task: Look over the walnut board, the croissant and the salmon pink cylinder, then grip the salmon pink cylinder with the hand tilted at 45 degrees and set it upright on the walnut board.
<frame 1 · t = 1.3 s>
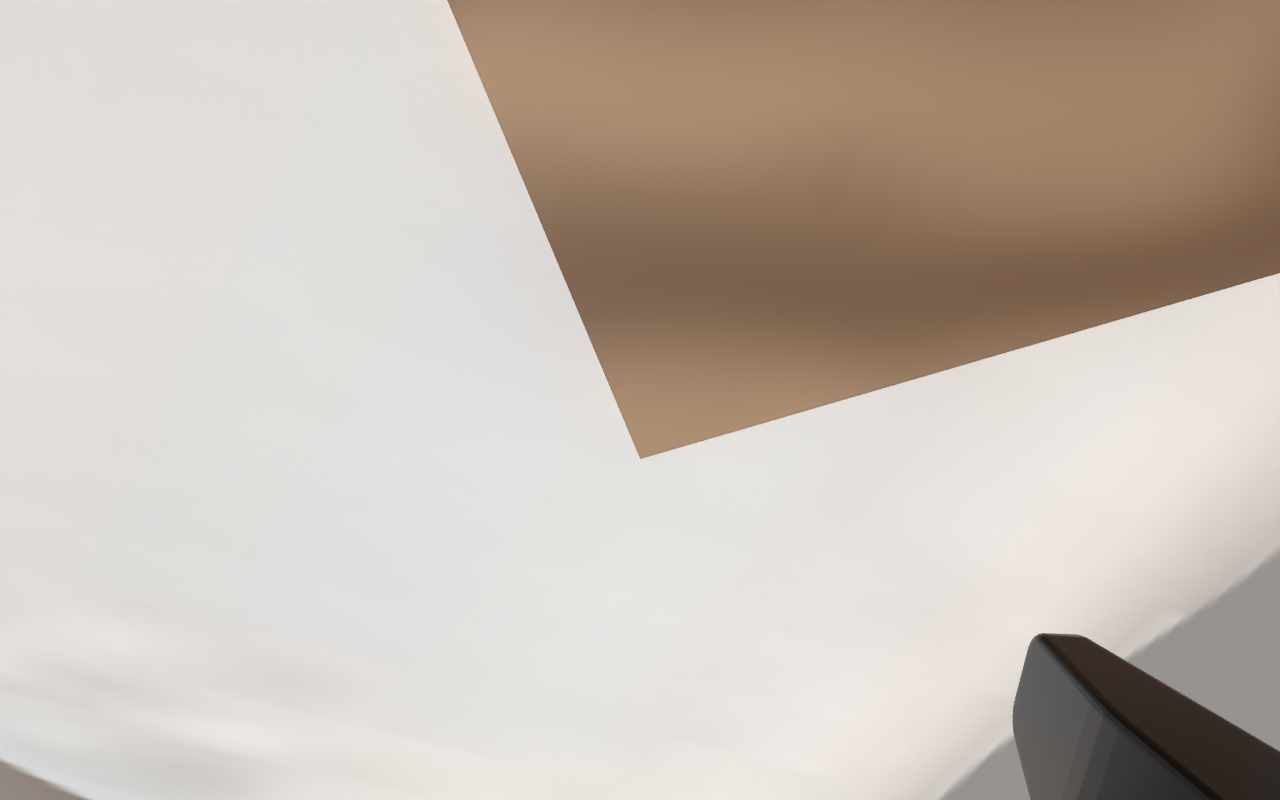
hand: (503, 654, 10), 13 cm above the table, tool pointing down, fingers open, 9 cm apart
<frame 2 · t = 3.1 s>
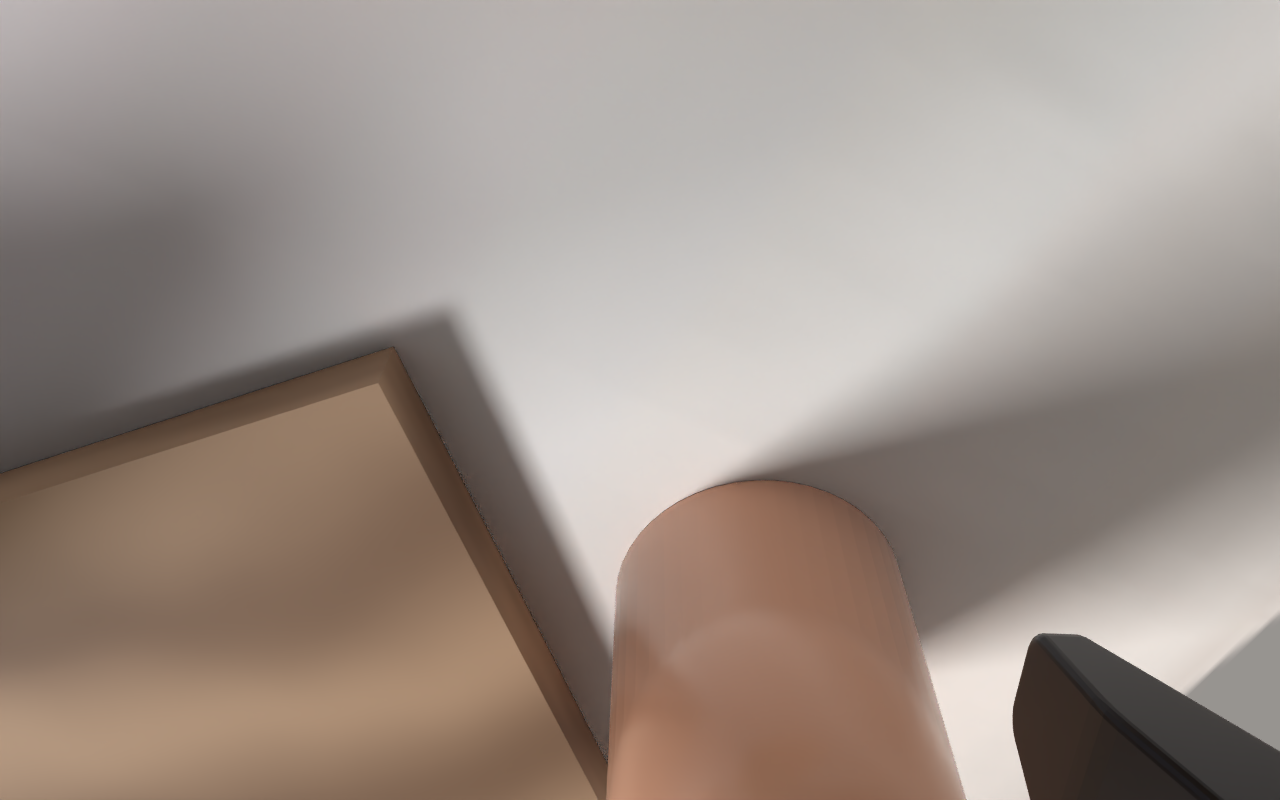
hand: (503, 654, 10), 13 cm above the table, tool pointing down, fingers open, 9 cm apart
walnut board: (302, 753, 29), on the table
salmon pink cylinder: (757, 598, 26), on the table
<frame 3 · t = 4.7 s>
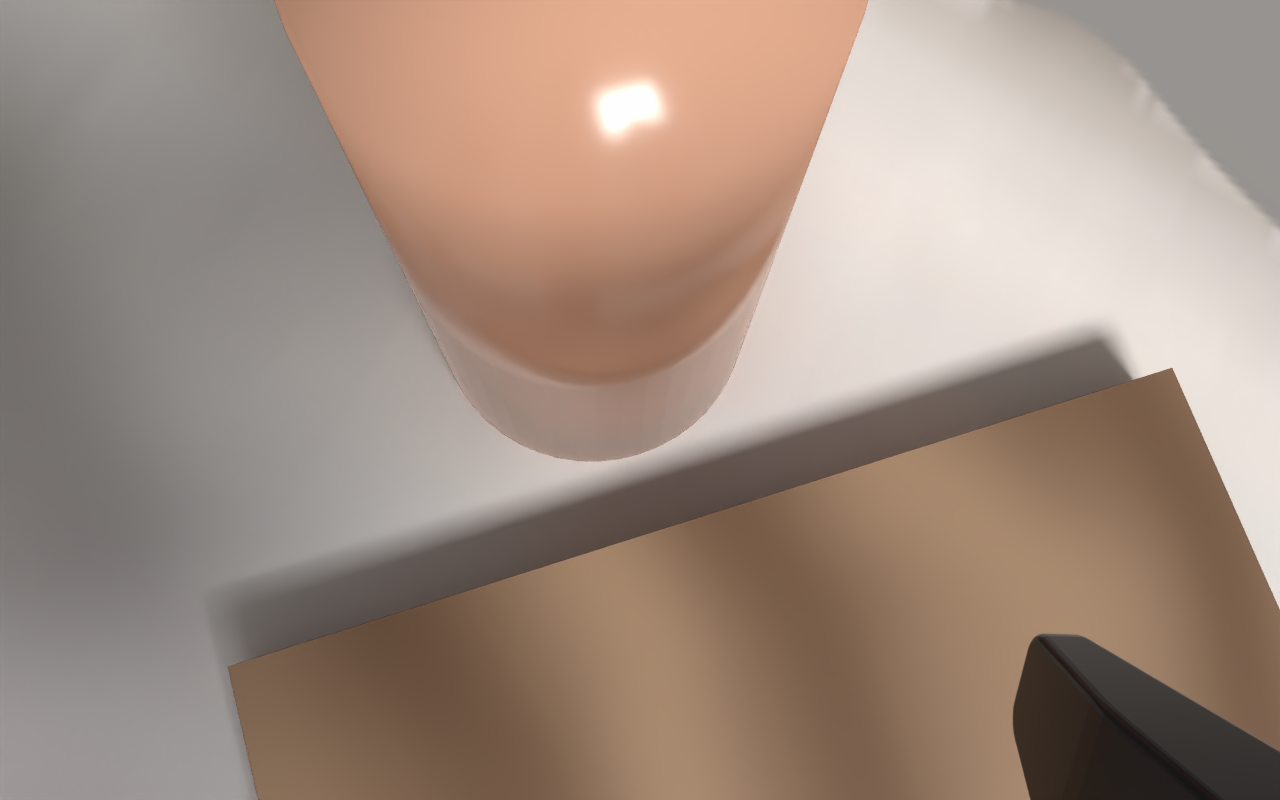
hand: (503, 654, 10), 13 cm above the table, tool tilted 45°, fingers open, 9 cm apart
salmon pink cylinder: (592, 313, 25), on the table
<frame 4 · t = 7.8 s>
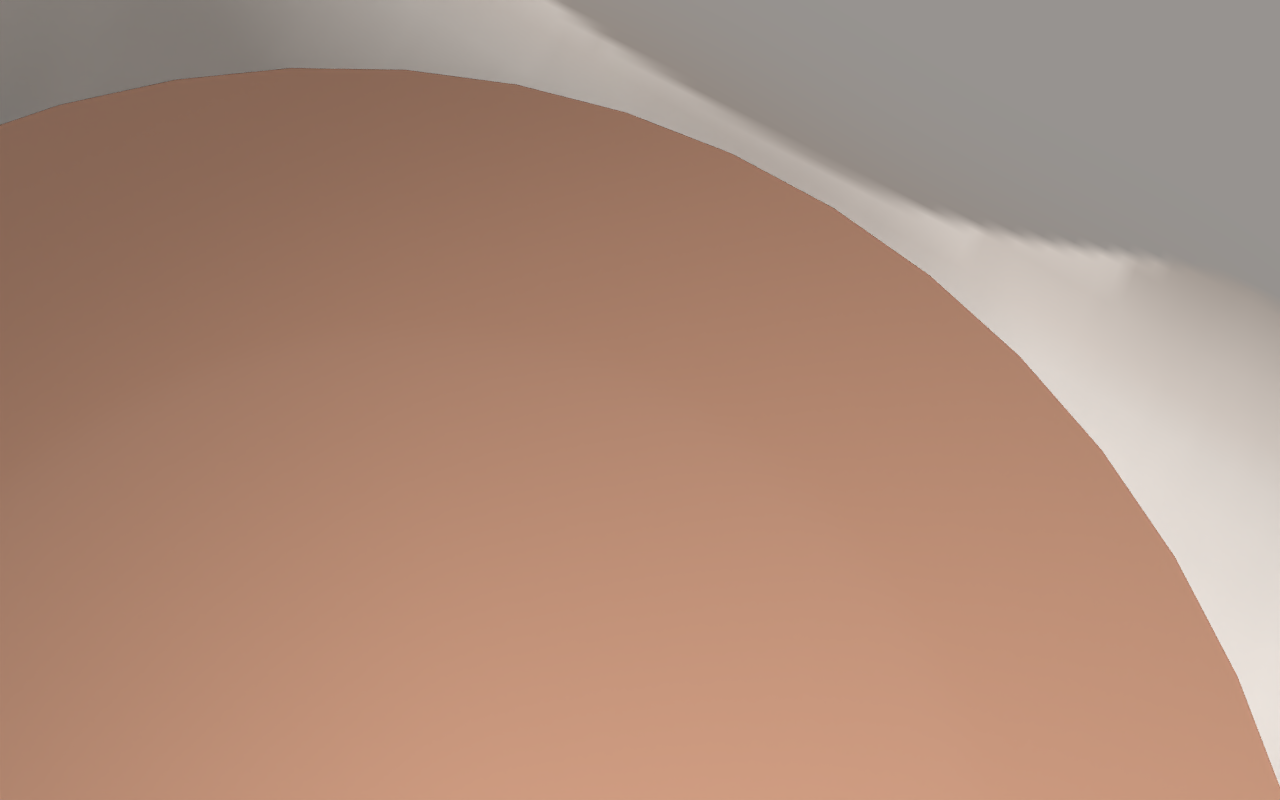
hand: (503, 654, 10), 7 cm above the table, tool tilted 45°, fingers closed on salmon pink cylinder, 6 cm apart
salmon pink cylinder: (541, 785, 16), on the table, touching gripper
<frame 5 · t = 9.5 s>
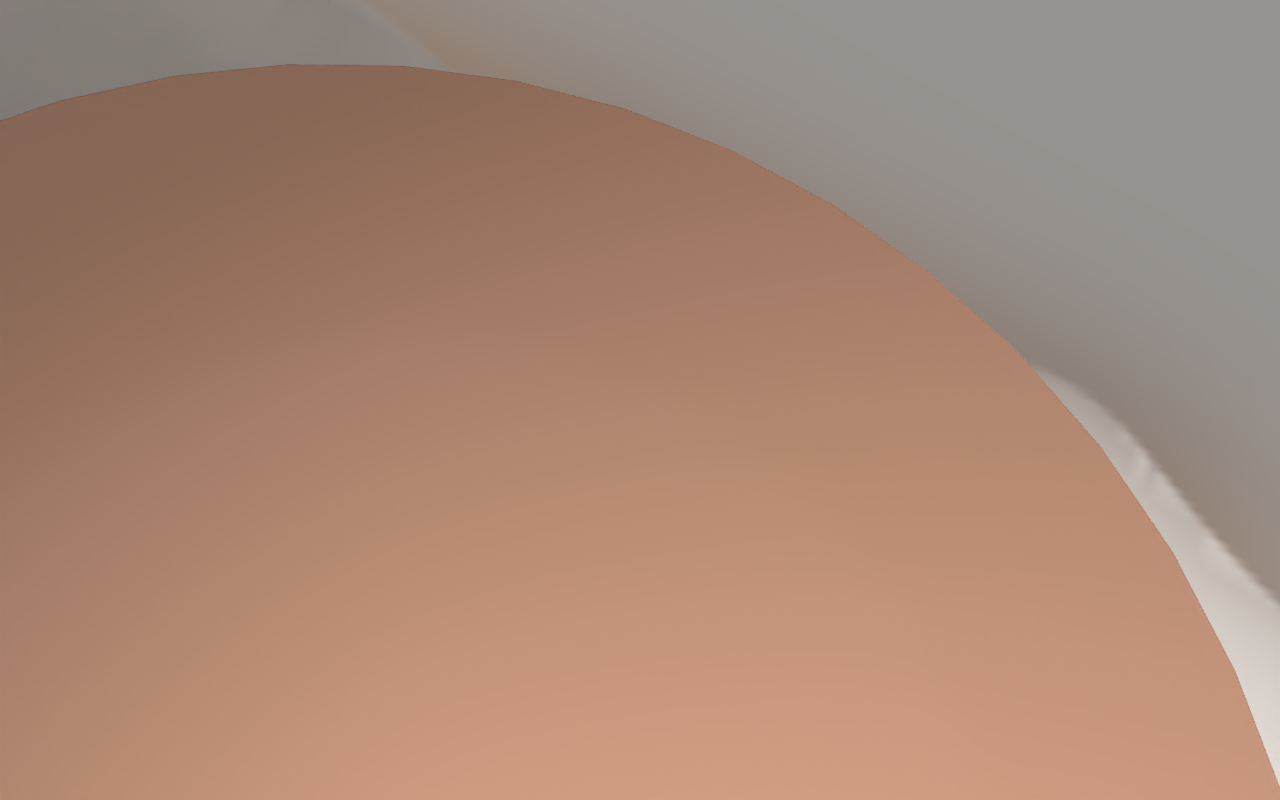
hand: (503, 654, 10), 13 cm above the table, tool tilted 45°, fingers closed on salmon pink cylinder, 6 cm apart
salmon pink cylinder: (540, 784, 16), point 7 cm above the table, touching gripper
when the fingers open (9 cm above the table, at t = 11.9 s): salmon pink cylinder drops 1 cm, resting on walnut board.
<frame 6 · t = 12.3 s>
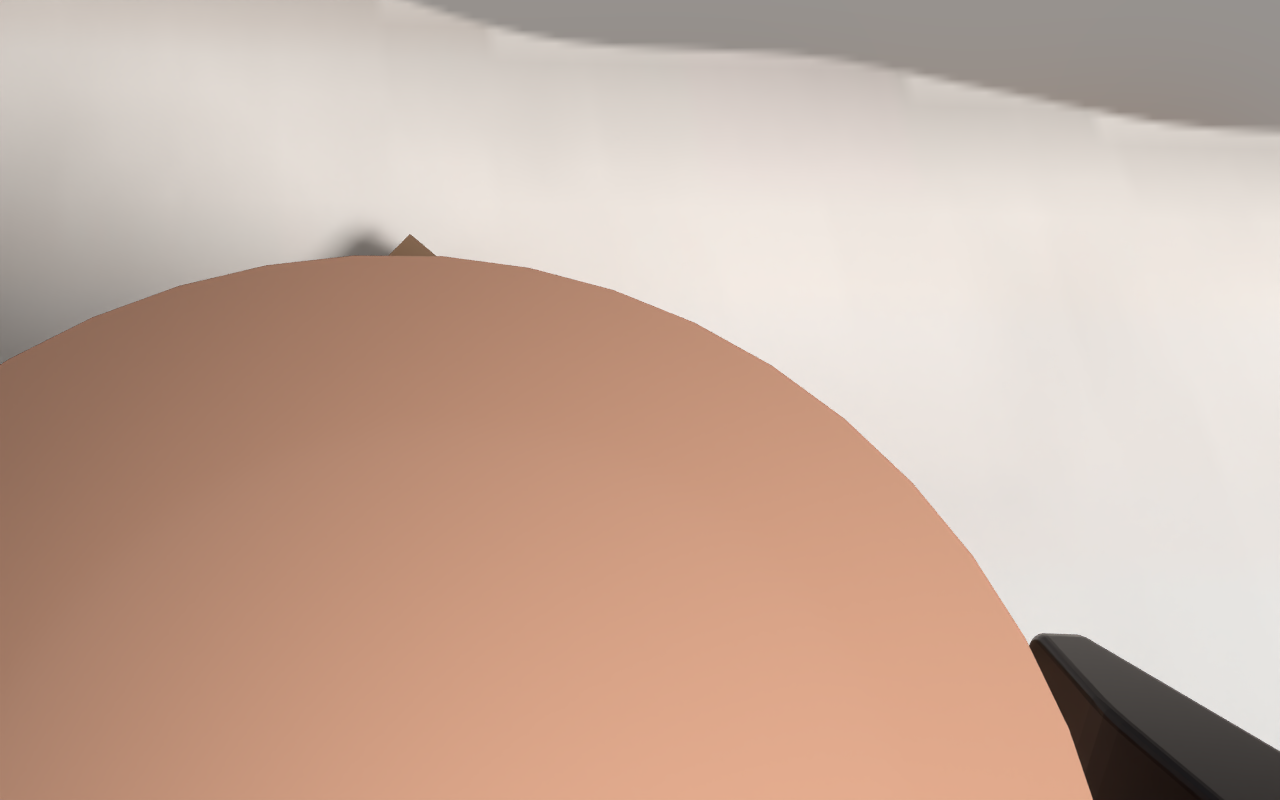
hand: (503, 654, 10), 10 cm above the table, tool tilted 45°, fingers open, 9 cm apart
salmon pink cylinder: (548, 785, 17), point 2 cm above the table, touching walnut board
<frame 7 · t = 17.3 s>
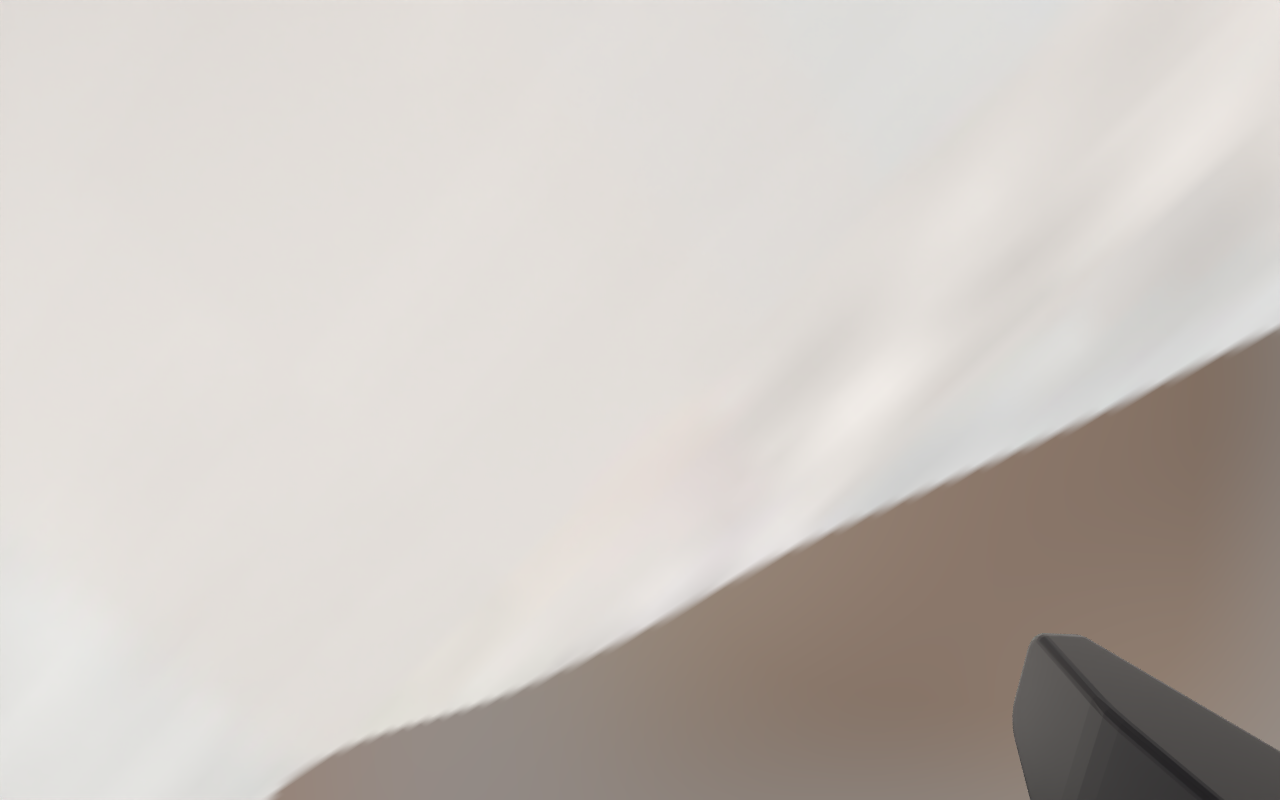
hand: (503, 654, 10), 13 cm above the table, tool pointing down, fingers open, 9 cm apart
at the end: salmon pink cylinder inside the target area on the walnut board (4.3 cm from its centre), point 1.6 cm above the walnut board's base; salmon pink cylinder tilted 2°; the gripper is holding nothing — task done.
